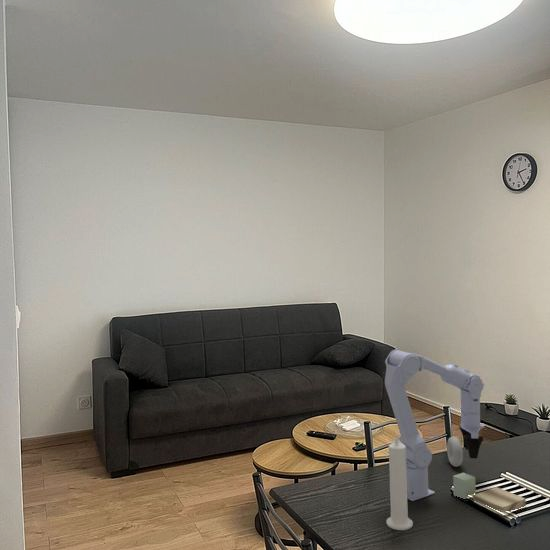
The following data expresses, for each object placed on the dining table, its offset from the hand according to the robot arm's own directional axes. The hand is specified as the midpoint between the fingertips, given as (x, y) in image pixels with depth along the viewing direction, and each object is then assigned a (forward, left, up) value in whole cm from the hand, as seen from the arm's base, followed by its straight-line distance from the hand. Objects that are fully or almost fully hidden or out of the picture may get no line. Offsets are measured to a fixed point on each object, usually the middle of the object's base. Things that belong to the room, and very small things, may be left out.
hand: (471, 453), depth 181 cm
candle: (-38, -8, -9) cm, 40 cm away
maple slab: (-7, -16, -10) cm, 20 cm away
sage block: (-10, -6, -9) cm, 15 cm away
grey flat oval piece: (+6, +12, -9) cm, 17 cm away
